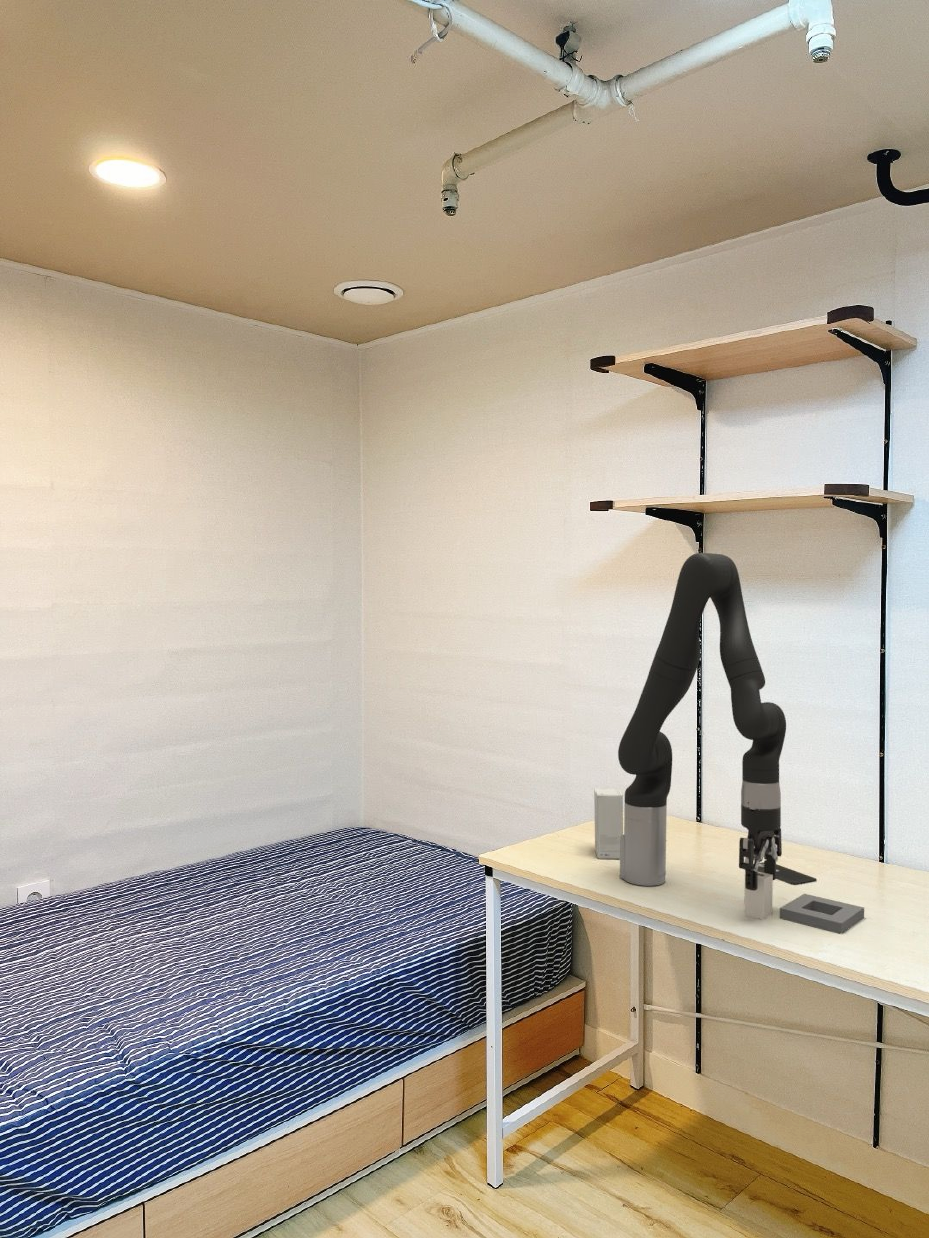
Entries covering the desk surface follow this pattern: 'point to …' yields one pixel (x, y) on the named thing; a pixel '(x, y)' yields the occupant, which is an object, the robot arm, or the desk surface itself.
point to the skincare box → (608, 822)
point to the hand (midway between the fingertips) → (760, 884)
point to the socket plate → (836, 921)
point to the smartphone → (789, 875)
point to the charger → (760, 898)
